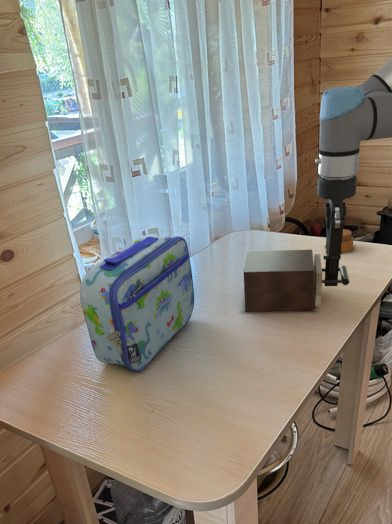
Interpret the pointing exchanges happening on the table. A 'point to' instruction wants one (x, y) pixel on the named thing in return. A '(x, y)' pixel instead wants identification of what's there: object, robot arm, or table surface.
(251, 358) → the table surface
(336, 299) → the table surface
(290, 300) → the cabinet
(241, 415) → the table surface
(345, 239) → the orange-brown stepped cylinder
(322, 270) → the drawer
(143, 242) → the lunch box
